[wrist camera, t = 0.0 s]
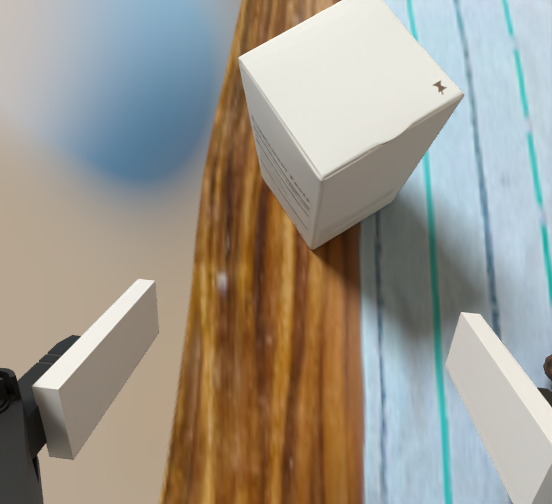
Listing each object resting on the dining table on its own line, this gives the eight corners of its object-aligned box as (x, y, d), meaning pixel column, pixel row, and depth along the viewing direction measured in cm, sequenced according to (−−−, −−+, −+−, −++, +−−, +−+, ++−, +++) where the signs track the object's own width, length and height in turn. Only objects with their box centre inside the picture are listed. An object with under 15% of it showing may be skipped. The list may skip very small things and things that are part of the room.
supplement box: (339, 127, 35) (372, -24, 21) (394, 202, 33) (474, 93, 19) (258, 174, 34) (232, 52, 20) (309, 253, 32) (322, 182, 18)
